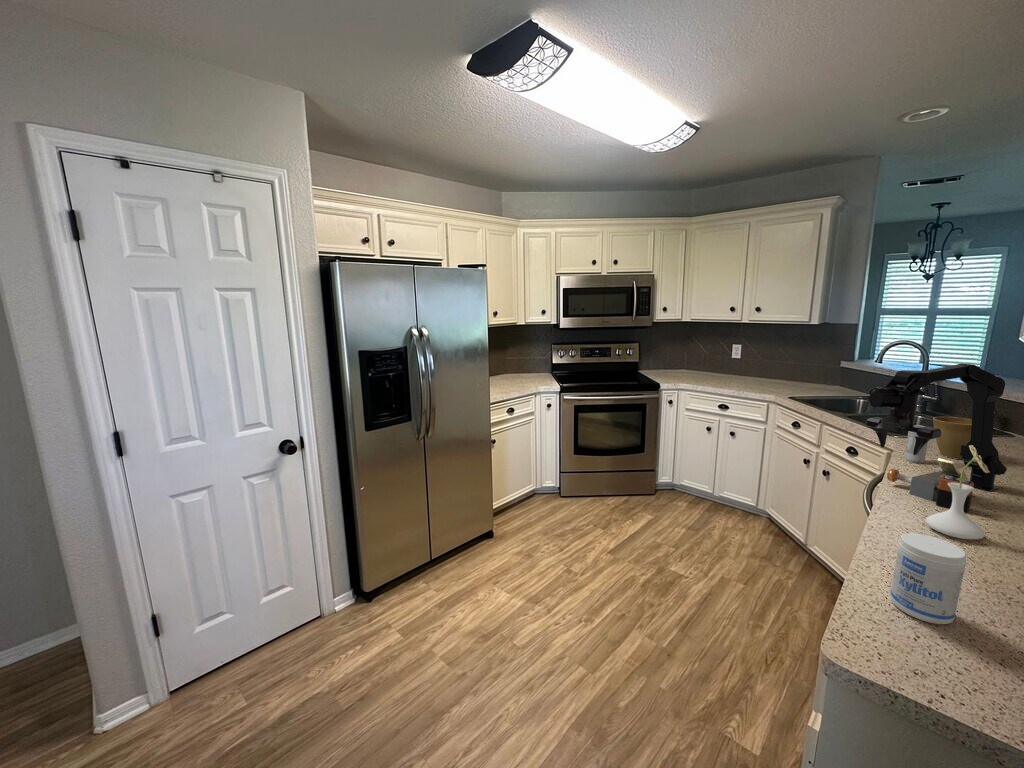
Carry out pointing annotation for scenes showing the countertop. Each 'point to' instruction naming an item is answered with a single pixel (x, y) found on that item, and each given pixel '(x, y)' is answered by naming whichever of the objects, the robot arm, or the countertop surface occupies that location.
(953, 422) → the plant pot
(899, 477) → the pin
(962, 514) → the flower in vase
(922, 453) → the energy drink can
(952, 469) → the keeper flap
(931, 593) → the supplement tub
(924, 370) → the robot arm
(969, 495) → the battery
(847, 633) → the countertop surface
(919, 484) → the drawbar block
